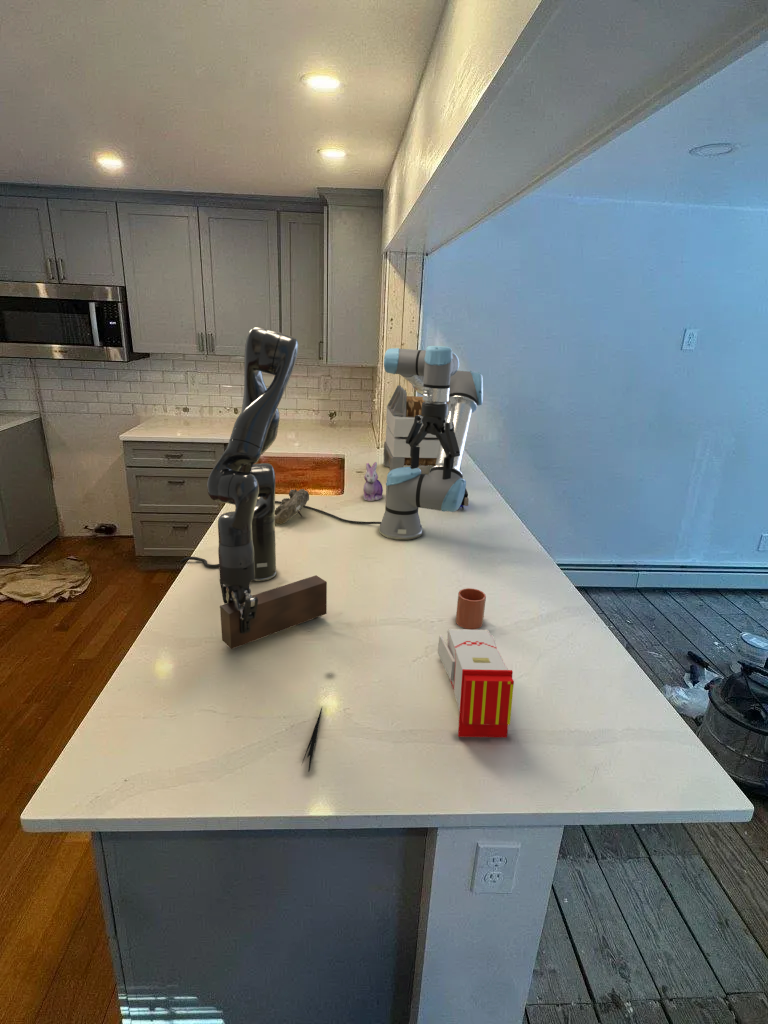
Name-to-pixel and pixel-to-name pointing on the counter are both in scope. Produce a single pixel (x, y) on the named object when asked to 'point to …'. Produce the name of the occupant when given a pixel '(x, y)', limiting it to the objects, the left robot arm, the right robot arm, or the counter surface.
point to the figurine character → (465, 500)
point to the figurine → (372, 484)
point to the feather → (313, 740)
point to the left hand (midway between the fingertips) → (240, 627)
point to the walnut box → (276, 611)
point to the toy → (478, 682)
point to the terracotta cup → (470, 608)
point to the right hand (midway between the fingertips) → (430, 473)
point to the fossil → (291, 506)
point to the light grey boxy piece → (406, 432)
